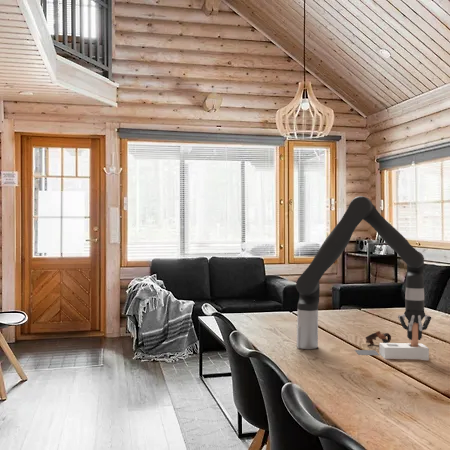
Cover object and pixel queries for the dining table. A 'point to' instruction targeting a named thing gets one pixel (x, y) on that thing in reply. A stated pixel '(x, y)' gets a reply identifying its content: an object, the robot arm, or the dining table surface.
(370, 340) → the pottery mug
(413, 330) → the dowel
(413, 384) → the dining table surface
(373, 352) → the mat
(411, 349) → the socket block
